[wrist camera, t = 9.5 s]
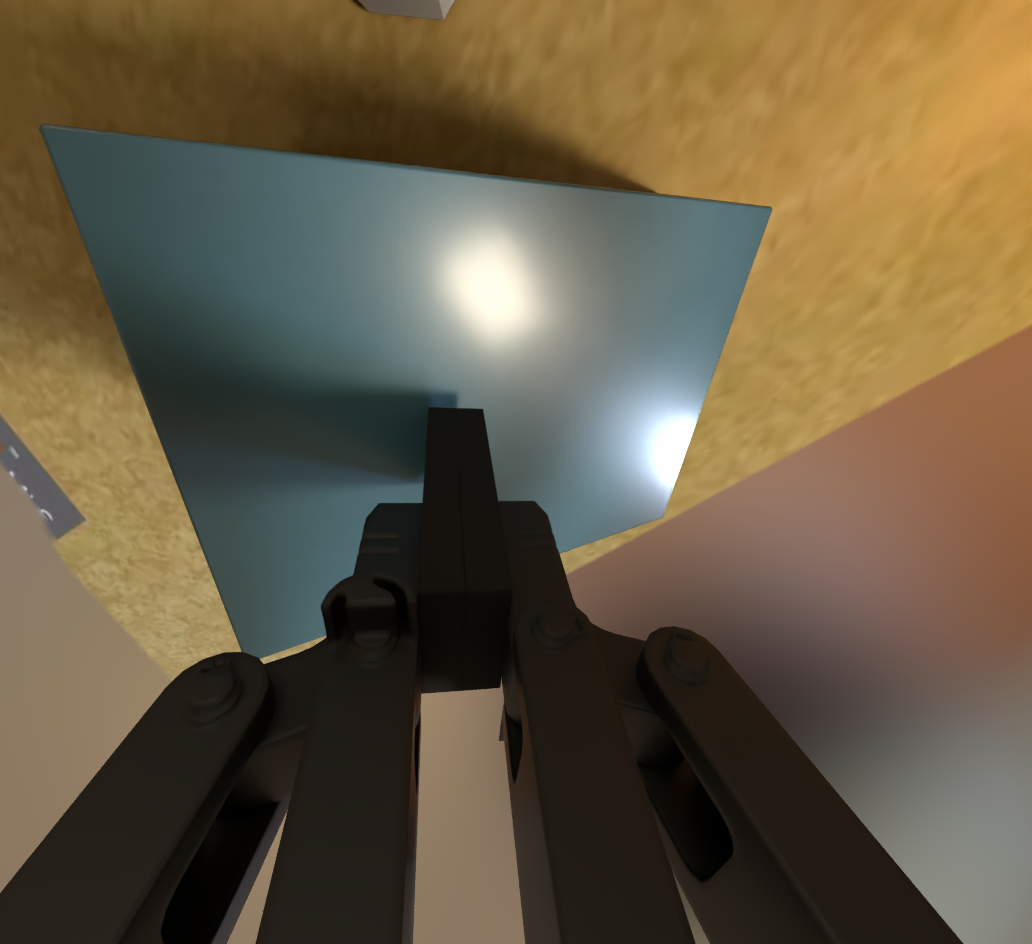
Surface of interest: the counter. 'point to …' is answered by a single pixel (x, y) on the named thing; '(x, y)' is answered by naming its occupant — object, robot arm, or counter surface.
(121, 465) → the counter surface
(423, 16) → the flask
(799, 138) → the counter surface
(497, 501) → the robot arm
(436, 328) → the lid
